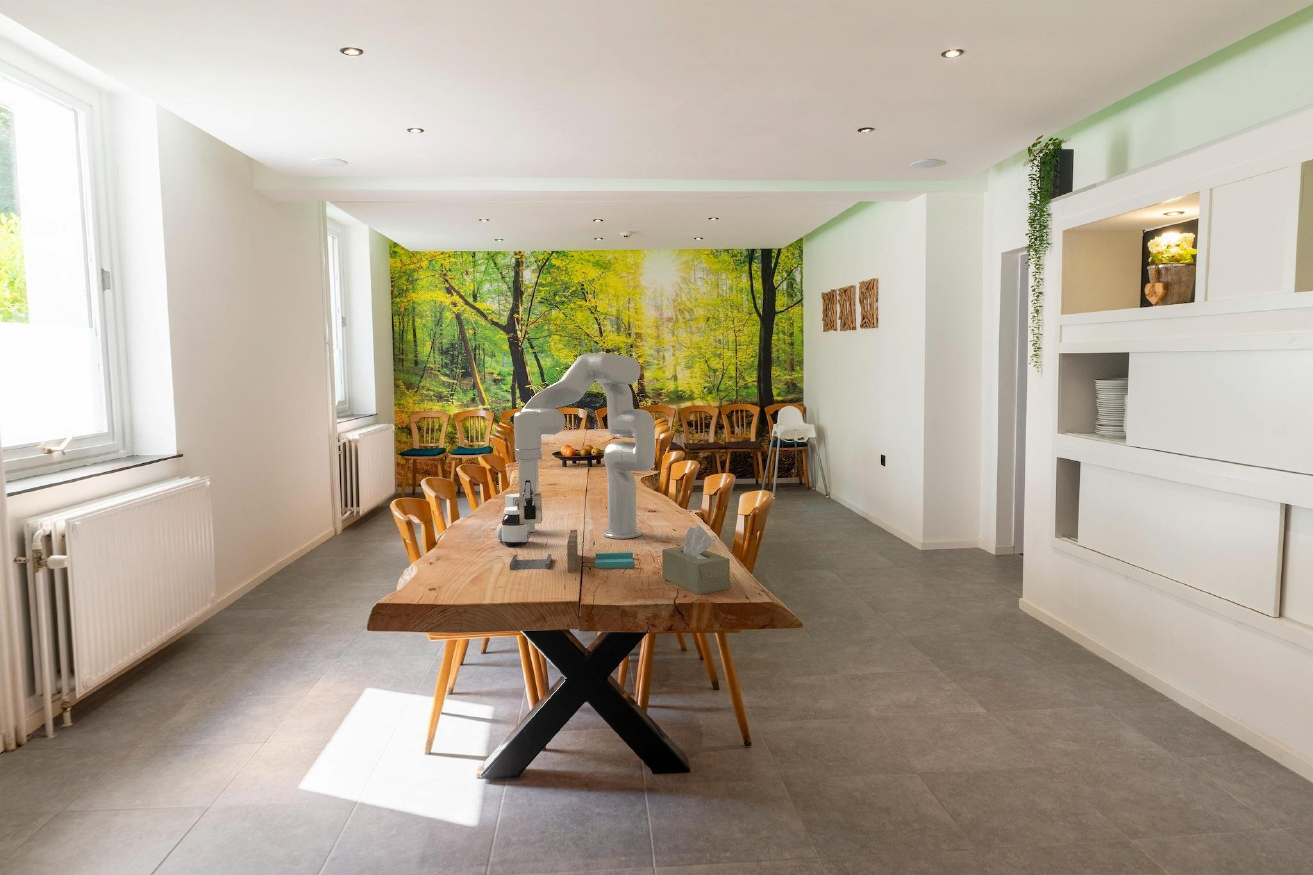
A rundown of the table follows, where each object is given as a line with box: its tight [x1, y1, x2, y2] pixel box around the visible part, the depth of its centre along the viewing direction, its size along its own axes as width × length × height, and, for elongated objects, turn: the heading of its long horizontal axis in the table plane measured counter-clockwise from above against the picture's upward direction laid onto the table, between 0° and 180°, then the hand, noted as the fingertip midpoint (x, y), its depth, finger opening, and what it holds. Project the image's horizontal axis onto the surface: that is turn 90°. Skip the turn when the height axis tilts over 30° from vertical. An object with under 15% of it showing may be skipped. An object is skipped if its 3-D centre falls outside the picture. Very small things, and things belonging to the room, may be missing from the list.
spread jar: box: [494, 507, 530, 547], centre depth 263 cm, size 12×11×12 cm
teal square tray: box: [594, 551, 635, 569], centre depth 237 cm, size 11×11×2 cm
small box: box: [504, 492, 536, 533], centre depth 280 cm, size 8×6×13 cm
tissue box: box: [661, 524, 731, 595], centre depth 214 cm, size 19×10×16 cm, turn 29°
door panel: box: [566, 529, 579, 573], centre depth 236 cm, size 20×2×8 cm, turn 3°
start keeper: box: [509, 553, 552, 571], centre depth 235 cm, size 11×11×2 cm
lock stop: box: [517, 492, 543, 525], centre depth 234 cm, size 4×7×8 cm
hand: (531, 516), depth 234 cm, fingers closed on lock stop, 4 cm apart
